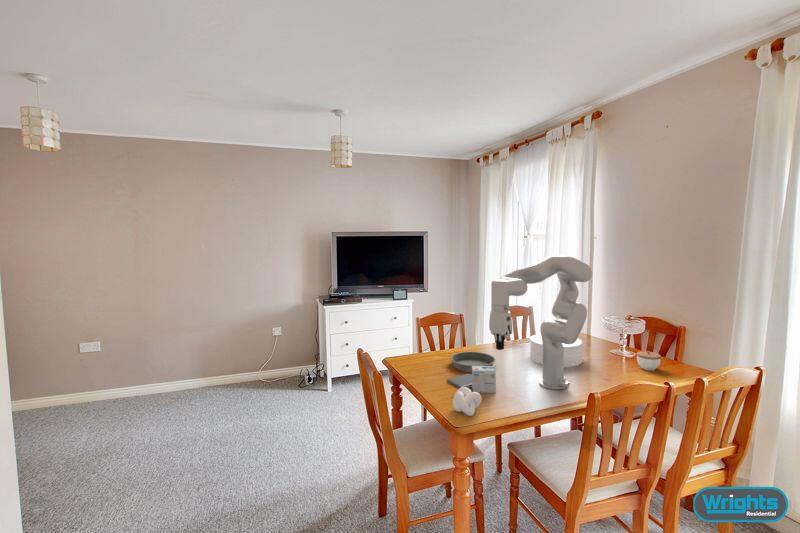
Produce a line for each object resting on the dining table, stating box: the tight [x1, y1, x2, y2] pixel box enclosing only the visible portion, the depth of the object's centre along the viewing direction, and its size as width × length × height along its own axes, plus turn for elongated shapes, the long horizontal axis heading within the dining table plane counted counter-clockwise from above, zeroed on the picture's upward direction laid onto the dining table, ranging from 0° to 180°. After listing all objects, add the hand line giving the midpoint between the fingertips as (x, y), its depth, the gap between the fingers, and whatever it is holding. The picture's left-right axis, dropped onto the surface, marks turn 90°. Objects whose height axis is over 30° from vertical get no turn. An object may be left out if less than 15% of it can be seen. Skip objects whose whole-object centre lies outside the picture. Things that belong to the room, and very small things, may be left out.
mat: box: [446, 373, 472, 389], centre depth 188 cm, size 12×14×1 cm
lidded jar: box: [636, 350, 662, 371], centre depth 201 cm, size 11×11×9 cm
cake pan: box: [450, 351, 496, 373], centre depth 212 cm, size 25×25×4 cm
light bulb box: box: [471, 365, 497, 394], centre depth 178 cm, size 11×7×11 cm, turn 84°
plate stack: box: [529, 333, 583, 368], centre depth 220 cm, size 28×28×12 cm
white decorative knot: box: [452, 387, 482, 417], centre depth 157 cm, size 11×12×9 cm
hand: (500, 349), depth 167 cm, fingers closed
